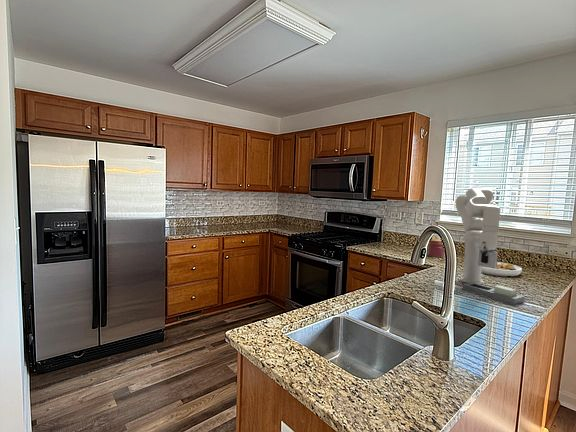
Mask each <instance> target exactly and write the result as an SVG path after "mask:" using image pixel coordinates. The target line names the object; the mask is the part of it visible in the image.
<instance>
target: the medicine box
mask: <svg viewBox="0 0 576 432" xmlns="http://www.w3.org/2000/svg"><path fill="white" fill-rule="evenodd" d="M485 252H486V251H485ZM498 254H499V253H498V251H496V250H495V251H491V250H489V252H488V263H482V262H481V256H482V255H481V251H480V250H479V259H478V266H483V267H489V268H496V266H497V262H498Z"/></svg>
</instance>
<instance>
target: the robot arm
mask: <svg viewBox="0 0 576 432" xmlns="http://www.w3.org/2000/svg"><path fill="white" fill-rule="evenodd" d="M493 199H494V192H493V190H492V189H491V188H487V187H486V188H485V187H484V188H483V187H482V188H481V187H473V188H471V187H470V188H469V189H467V191H466V192H465V194H463V195H458V196H457V197H456V198H455V208H456V211H457V213H458V214H459V216H460V218H461V222H462V226H463V229H464V231H465V233H464V235H463V240H464V255H463V256H464V257H463V259H464V260H463V271H462V276H461V277H459V280H460V281H461V282H463V283H465V284H468V283H477V284H480V285H483V284H484V280H483V279H482V278H484V277H485V275H484V273H481V271H482V266H478V259H479V250H480V251H481V255H482V256H481V262H482V263H488V252H489V250H490V251H496V250H497V247H498V244H499V237H498V233H499V227H500V217H501V208H500V206H498V205H495V204H490V203H491V202H492V201H493ZM485 251H486V252H485Z"/></svg>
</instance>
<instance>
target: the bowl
mask: <svg viewBox="0 0 576 432" xmlns="http://www.w3.org/2000/svg"><path fill="white" fill-rule="evenodd" d="M522 271H523V268H522V267H520V266H518V265H515V264H512V263H507V262H506V263H505V262H502V261H501V262H500V261H497V266H496V268H489V267H483V266H482V271H481V274H485V275H490V276H497V277H507V276H511V277H517V276H519V275H521V273H522Z"/></svg>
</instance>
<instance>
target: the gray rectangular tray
mask: <svg viewBox="0 0 576 432" xmlns="http://www.w3.org/2000/svg"><path fill="white" fill-rule="evenodd" d="M462 290H463V291H465V292H468V291H469V293H471V294H476V295H480V296H483V297H486V298H489V299H493V300H496V301H500V302H503V303H507V304H510V305H513V306H516V305H520V304H523V303H525V299H526V297H525V296H524V295H521V294H517V293H516V296H515V297H510V296H506V295H502V294H499V293H495V292H494V287H490V286H488V285H483V284H477V283H463V284H462Z"/></svg>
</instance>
